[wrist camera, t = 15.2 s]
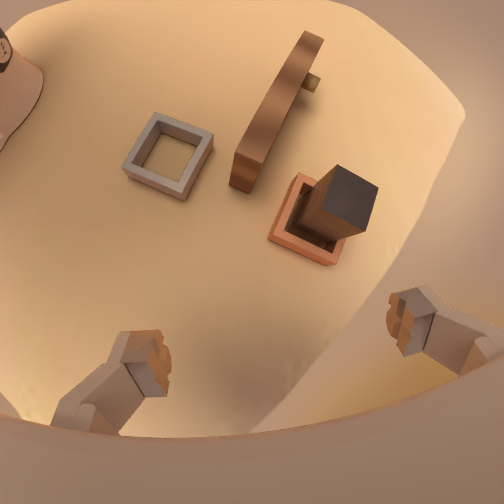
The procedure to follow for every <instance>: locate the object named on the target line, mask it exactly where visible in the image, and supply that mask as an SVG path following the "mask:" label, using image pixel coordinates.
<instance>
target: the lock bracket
mask: <svg viewBox="0 0 504 504" xmlns="http://www.w3.org/2000/svg"><path fill="white" fill-rule="evenodd" d="M317 182H318V181H316V180H314V179H312V178H310V177H308V176H306V175H304V174H302V173H300V172H299V173H298V174H297V176H296V177H295V178H294V179H293V181H292V182H291V185H290V187H289V189H288V192H287V194H286V196H285V199H284V201H283V203H282V206H281V208H280V210H279V213H278V215H277V217H276V220H275V222H274V224H273V227H272V229H271V231H270V234H269V236H268V238H267V239H270V240H272V241H274V242H276V243H278V244H280V245H283V246H285V247H287V248H289V249H291V250H293V251H296V252H298V253H300V254H302V255H304V256H306V257H308V258H311V259H313V260H315V261H317V262H319V263H321V264H323V265H325V266H327V265H334V264H337V261H338V259H339V256H340V253H341V250H342V248H343V245H344V242H345V239H346V238H343V239H340V240H337V241H334V242H331V243H328V244H327V245H326V247H325V250H324V249H321V248H319V247H317V246H315V245H313V244H311V243H309V242H307V241H305V240H303V239H301V238H298V237H296V236H294V235H292V234H290V233H288V232H286V231H284V228H285V226H286V223H287V221H288V218H289V216H290V214H291V211H292V209H293V206H294V204H295V202H296V199H297V197H298V194H299V192H300V193H302V194H305V193H306V192H307V191H309V190H310V189H311V188H312V187H313V186H314V185H315V184H316V183H317Z"/></svg>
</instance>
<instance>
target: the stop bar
mask: <svg viewBox="0 0 504 504" xmlns="http://www.w3.org/2000/svg"><path fill="white" fill-rule="evenodd" d="M377 192H378V187H376V186H375V185H373V184H371V183H370V182H368V181H366V180H364V179H363V178H361V177H359V176H357V175H356V174H354V173H352V172H350V171H348V170H347V169H345V168H343V167H341V166H339V165H336V166H335V167H334V168H333V169H332V170H330V171H329V172H328V173H327V174H326V175H325V176H324V177H323V178H322V179H321V180H319V181H318V182H317V183H316V184H315V185H314V186H313V187H312V188H311V189H310V190H309V191H307V192H306V193H305V194H304V195H303V196H302V197H301V198H300V199H299V200H298V203H297V205H296V208H295V210H294V212H293V215H292V217H291V220H290V222H289V225H288V227H287V229H286V232H288V233H290V234H292V235H294V236H297V237H299V238H301V239H303V240H305V241H307V242H309V243H311V244H313V245H316V246H321V245H324V244H328V243H331V242H334V241H337V240H340V239H343V238H346V237H350V236H353V235H356V234H359V233H362V232H365V231H366V228H367V225H368V222H369V218H370V215H371V212H372V209H373V205H374V202H375V199H376V195H377Z"/></svg>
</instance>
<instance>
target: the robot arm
mask: <svg viewBox="0 0 504 504" xmlns="http://www.w3.org/2000/svg"><path fill="white" fill-rule="evenodd" d="M42 86H43V74H42V71H41V70H40V69H39V68H38V67H36V66H34V65H33V64H31V63H30V62H29V61H27V59H26V58H24V57H22V56H21V55H20V54H19V53H18V52H17V51H16V50H15V49H14V48H13V47H12V46H11V44H10V42H9V40H8V38H7V36H6V35H5V33H4V32H3V30H2V29H1V28H0V150H1V149H2V147H3V146H4V144H5V142H6V140H7V139H8V137H9V136H10V135H11V134H12V132H13V131H14V130H15V129H16V128H17V127H18V126H19V125H20V124H21V123H22V122H23V121H24V119H25V118H26V117H27V116H28V114H29V113H30V111H31V110H32V108H33V107H34V105H35V103H36V101H37V99H38V97H39V95H40V92H41V90H42ZM389 304H390V305H391V308H390V309H389V310H388V311H387V315H386V325H387V329H388V331H389V333H390V335H391V336H392V337H393V338H395V339H397V343H396V345H397V346H398V348H399V350H400V351H401V353H402V355H403V357H405V356H408V355H412V354H415V353H419V352H421V351H423V353H425V354H426V355H428V356H430V357H431V358H433V359H434V360H436V361H437V362H439V363H441V364H442V365H444V366H445V367H447V368H448V369H450V370H451V371H453V372H455V373H456V374H457V375H458V377H457V378H455V379H453V380H451V381H449V382H447V383H444V384H441V385H439V386H437V387H434V388H432V389H429V390H427V391H424V392H422V393H419V394H417V395H414V396H411V397H408V398H405V399H403V400H400V401H397V402H394V403H391V404H388V405H384V406H381V407H378V408H375V409H371V410H368V411H365V412H361V413H358V414H354V415H350V416H346V417H342V418H338V419H334V420H329V421H325V422H321V423H315V424H311V425H306V426H300V427H294V428H288V429H282V430H276V431H269V432H261V433H252V434H243V435H232V436H218V437H198V438H151V437H131V436H121V435H120V434H119V433H118V432H119V431H120V429H121V428H122V427H123V426H124V424H125V423H126V422H127V421H128V419H129V418H130V417H131V415H132V414H133V413H134V412H135V410H136V409H137V408H138V407H139V405H140V404H141V403H142V402H143V400H144V399H145V398H144V397H166V396H167V393H168V386H169V380H168V378H167V376H168V375H169V374H170V373H171V367H172V363H171V355H170V352H169V349H168V347H167V346H165V345H164V344H163V339H164V337H163V335H162V333H161V331H160V330H142V331H126V332H120V333H119V334H118V335H117V338H116V340H115V343H114V345H113V348H112V350H111V353H110V355H109V358H108V361H107V363H106V364H102V365H101V366H99V367H98V368H97V369H96V370H95V371H94V372H92V373H91V374H90V375H89V376H88V377H86V378H85V379H84V380H83V381H82V382H80V383H79V384H78V385H77V386H76V387H75V388H73V389H72V390H71V391H70V392H69V393H67V394H66V395H65V396H64V397H63V398H62V399H60V401H59V403H58V406H57V408H56V411H55V414H54V416H53V419H52V421H51V424H50V426H49V425H44V424H39V423H35V422H31V421H27V420H23V419H19V418H15V417H11V416H8V415H5V414H1V413H0V504H504V330H503V329H502V328H501V327H500V326H498V325H495V324H493V323H490V322H488V321H485V320H483V319H480V318H478V317H475V316H473V315H470V314H468V313H465V312H463V311H460V310H458V309H455V308H453V307H452V308H449V307H448V306H447V305H446V304H445V303H444V302H443V301H442V300H441V298H440V297H439V296H438V295H437V294H436V293H435V292H434V291H433V290H432V289H431V288H430V287H429V286H428V285H426V284H424V285H421V286H417V287H414V288H411V289H407V290H402V291H399V292H394V293H391V295H390V298H389Z"/></svg>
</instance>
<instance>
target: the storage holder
mask: <svg viewBox="0 0 504 504" xmlns="http://www.w3.org/2000/svg"><path fill="white" fill-rule="evenodd" d="M161 132H162V133H165V134H167V135H170V136H172V137H175V138H178V139H180V140H183V141H185V142H188V143H190V144H193V145H195V146H198V147H197V149H196V151H195V153H194V154H193V156H192V158H191V160H190V162H189V163H188V165H187V167H186V169H185V171H184V173H183V175H182V176H181V178H180V180H179V182H178V183H177V182H175V181H172V180H170V179H168V178H165V177H163V176H161V175H158V174H156V173H153V172H151V171H149V170H146V169H144V168H141V166H142V164H143V163H144V161H145V159H146V157H147V156H148V154H149V152H150V150H151V149H152V147H153V145H154V144H155V142H156V140H157V139H158V137H159V135H160V134H161ZM213 136H214V134H213V133H210V132H208V131H205V130H202V129H200V128H197V127H195V126H192V125H190V124H187V123H184V122H182V121H179V120H176V119H173V118H171V117H168V116H165V115H162V114H159V113H156V112H155V113H154V114H153V116H152V117H151V119H150V121H149V122H148V124H147V125H146V127H145V128H144V130H143V132H142V133H141V135H140V136H139V138H138V140H137V141H136V143H135V145H134V146H133V148H132V150H131V151H130V153H129V155H128V157H127V158H126V160H125V162H124V164H123V165H122V167H121V168H122V169H123V170H124V171H125V173H126V174H127V175H128V177H130V178H133V179H135V180H137V181H140V182H142V183H144V184H147V185H149V186H151V187H154V188H156V189H158V190H160V191H163V192H165V193H167V194H170V195H172V196H174V197H176V198H179V199H181V200H183V201H185V199H186V197H187V195H188V193H189V191H190V189H191V187H192V185H193V183H194V181H195V179H196V177H197V175H198V173H199V171H200V169H201V168H202V166H203V164H204V162H205V160H206V158H207V156H208V155H209V153H210V151H211V149H212V147H213Z"/></svg>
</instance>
